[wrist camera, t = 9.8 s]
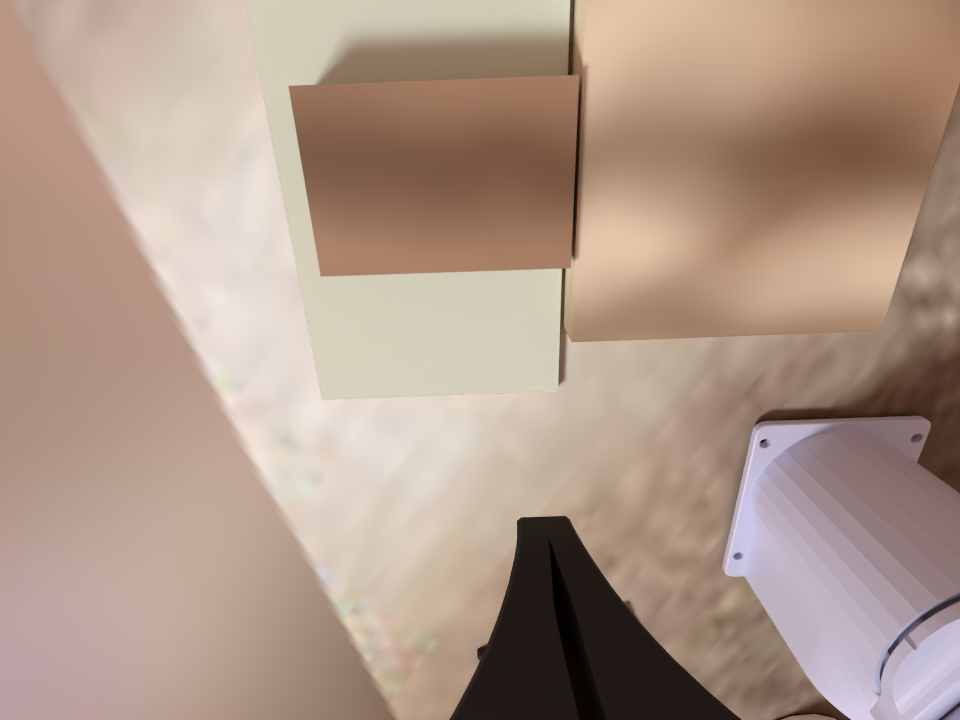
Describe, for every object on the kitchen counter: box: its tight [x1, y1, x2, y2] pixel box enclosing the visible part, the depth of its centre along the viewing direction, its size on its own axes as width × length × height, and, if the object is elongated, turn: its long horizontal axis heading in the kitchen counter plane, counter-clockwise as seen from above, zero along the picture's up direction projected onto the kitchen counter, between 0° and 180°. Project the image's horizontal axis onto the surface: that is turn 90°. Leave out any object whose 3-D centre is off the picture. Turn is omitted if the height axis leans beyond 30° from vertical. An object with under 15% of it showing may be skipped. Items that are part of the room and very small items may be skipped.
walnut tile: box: [288, 75, 579, 277], centre depth 17 cm, size 6×9×2 cm, turn 92°
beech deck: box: [563, 0, 960, 342], centre depth 17 cm, size 12×12×2 cm
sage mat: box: [245, 0, 570, 400], centre depth 18 cm, size 18×11×1 cm, turn 2°
